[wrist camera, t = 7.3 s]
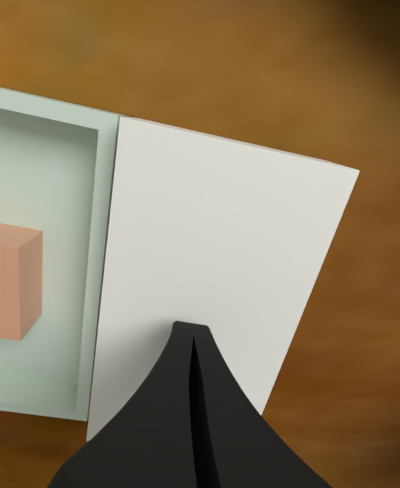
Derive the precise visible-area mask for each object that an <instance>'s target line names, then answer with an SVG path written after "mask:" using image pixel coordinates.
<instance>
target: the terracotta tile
mask: <svg viewBox="0 0 400 488" xmlns="http://www.w3.org/2000/svg"><path fill="white" fill-rule="evenodd" d="M42 259H43V231H42V230H37V229H31V228H25V227H20V226H14V225H8V224H3V223H0V338H3V339H10V340H17V341H21V340H22V339H23V337H24V336H25V335H26V334H27V332H28V331H29V330H30V328H31V327H32V326H33V325H34V323H35V322H36V321H37V320H38V318H39V317H40V316H41V315H42Z"/></svg>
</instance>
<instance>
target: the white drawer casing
mask: <svg viewBox="0 0 400 488" xmlns="http://www.w3.org/2000/svg"><path fill="white" fill-rule="evenodd" d="M359 172H360V171H359V170H356V169H353V168H349V167H346V166H342V165H339V164H335V163H332V162H329V161H325V160H321V159H317V158H312V157H308V156H303V155H299V154H295V153H290V152H286V151H281V150H277V149H272V148H268V147H264V146H259V145H255V144H250V143H246V142H241V141H237V140H233V139H228V138H224V137H219V136H215V135H210V134H206V133H202V132H197V131H193V130H188V129H184V128H180V127H175V126H171V125H166V124H162V123H157V122H153V121H149V120H144V119H140V118H131V117H120V123H119V133H118V142H117V152H116V161H115V171H114V181H113V190H112V200H111V209H110V219H109V229H108V238H107V248H106V257H105V267H104V276H103V286H102V296H101V305H100V315H99V324H98V334H97V344H96V353H95V363H94V372H93V382H92V391H91V401H90V411H89V420H88V430H87V439H86V441H90V440H91V439H92V438H93V437H94V436H95V435H96V434H97V433H98V432H99V431H100V430H101V429H102V428H103V427H104V426H105V425H106V424H107V423H108V422H109V421H110V420H111V419H112V418H113V417H114V416H115V415H116V414H117V413H118V412H119V411H120V409H121V408H122V407H123V406H124V405H125V404H126V403H127V401H128V400H129V399H130V398H131V397H132V395H133V394H134V393H135V392H136V390H137V389H138V388H139V387H140V385H141V384H142V383H143V381H144V380H145V378H146V377H147V376H148V374H149V373H150V371H151V370H152V368H153V366H154V365H155V363H156V362H157V360H158V358H159V357H160V355H161V353H162V351H163V349H164V347H165V345H166V344H167V341H168V339H169V337H170V334H171V331H172V327H173V323H174V322H175V321H182V322H188V323H194V324H201V325H207V326H208V327H209V328H210V331H211V333H212V335H213V338H214V340H215V342H216V344H217V346H218V348H219V350H220V352H221V354H222V356H223V358H224V360H225V362H226V364H227V366H228V367H229V369H230V371H231V373H232V374H233V376H234V378H235V379H236V381H237V382H238V384H239V386H240V387H241V389H242V390H243V392H244V393H245V395H246V396H247V398H248V399H249V400H250V402H251V403H252V405H253V406H254V407H255V409H256V410H257V411H258V413H259V414H260V415H262V412H263V410H264V407H265V405H266V402H267V400H268V398H269V395H270V393H271V390H272V388H273V385H274V383H275V380H276V378H277V375H278V373H279V370H280V368H281V365H282V363H283V360H284V358H285V355H286V353H287V350H288V348H289V345H290V343H291V340H292V338H293V335H294V333H295V331H296V328H297V326H298V323H299V321H300V318H301V316H302V313H303V311H304V308H305V306H306V303H307V301H308V298H309V296H310V293H311V291H312V288H313V286H314V283H315V281H316V278H317V276H318V273H319V271H320V268H321V266H322V263H323V261H324V259H325V256H326V254H327V251H328V249H329V246H330V244H331V241H332V239H333V236H334V234H335V231H336V229H337V226H338V224H339V221H340V219H341V216H342V214H343V211H344V209H345V206H346V204H347V201H348V199H349V196H350V194H351V191H352V189H353V187H354V184H355V182H356V179H357V177H358V174H359Z"/></svg>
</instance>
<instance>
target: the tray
mask: <svg viewBox="0 0 400 488" xmlns="http://www.w3.org/2000/svg"><path fill="white" fill-rule="evenodd" d="M120 117H130V116H126V115H122V114H118V113H113V112H109V111H104V110H100V109H95V108H91V107H87V106H82V105H78V104H73V103H69V102H64V101H60V100H56V99H51V98H47V97H42V96H38V95H33V94H29V93H25V92H20V91H16V90H11V89H7V88H2V87H0V223H3V224H8V225H14V226H20V227H25V228H31V229H37V230H42V231H43V259H42V315H41V316H40V317H39V318H38V320H37V321H36V322H35V323H34V325H33V326H32V327H31V328H30V330H29V331H28V332H27V334H26V335H25V336H24V337H23V339H22V340H21V341H17V340H10V339H3V338H0V410H1V411H9V412H17V413H24V414H32V415H40V416H48V417H56V418H64V419H72V420H80V421H87V420H88V417H89V411H90V401H91V391H92V382H93V372H94V363H95V353H96V344H97V334H98V324H99V315H100V305H101V296H102V286H103V276H104V267H105V257H106V248H107V238H108V229H109V219H110V209H111V200H112V190H113V181H114V171H115V161H116V152H117V142H118V133H119V123H120Z"/></svg>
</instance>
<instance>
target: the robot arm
mask: <svg viewBox="0 0 400 488" xmlns="http://www.w3.org/2000/svg"><path fill="white" fill-rule="evenodd" d="M47 488H332V487H331V486H330V485H329V484H328V483H327V482H326V481H325V480H323V479H322V478H321V477H320V476H319V475H318V474H317V473H315V472H314V471H313V470H312V469H311V468H310V467H309V466H308V465H307V464H306V463H304V462H303V461H302V460H301V459H300V458H299V457H298V456H297V455H296V454H295V453H294V452H293V451H292V450H291V449H290V448H289V447H288V446H287V445H286V443H285V442H284V441H283V440H282V439H281V438H280V437H279V436H278V435H277V434H276V432H275V431H274V430H273V429H272V428H271V427H270V426H269V425H268V423H267V422H266V421H265V420H264V419H263V418H262V416H261V415H260V414H259V413H258V411H257V410H256V409H255V407H254V406H253V405H252V403H251V402H250V400H249V399H248V398H247V396H246V395H245V393H244V392H243V390H242V389H241V387H240V386H239V384H238V382H237V381H236V379H235V378H234V376H233V374H232V373H231V371H230V369H229V367H228V366H227V364H226V362H225V360H224V358H223V356H222V354H221V352H220V350H219V348H218V346H217V344H216V342H215V340H214V338H213V335H212V333H211V331H210V328H209V327H208V326H207V325H201V324H194V323H188V322H182V321H175V322H174V323H173V327H172V331H171V334H170V337H169V339H168V341H167V344H166V345H165V347H164V349H163V351H162V353H161V355H160V357H159V358H158V360H157V362H156V363H155V365H154V366H153V368H152V370H151V371H150V373H149V374H148V376H147V377H146V378H145V380H144V381H143V383H142V384H141V385H140V387H139V388H138V389H137V390H136V392H135V393H134V394H133V395H132V397H131V398H130V399H129V400H128V401H127V403H126V404H125V405H124V406H123V407H122V408H121V409H120V411H119V412H118V413H117V414H116V415H115V416H114V417H113V418H112V419H111V420H110V421H109V422H108V423H107V424H106V425H105V426H104V427H103V428H102V429H101V430H100V431H99V432H98V433H97V434H96V435H95V436H94V437H93V438H92V439H91V440H90V441H88V442H87V443H86V444H85V445H84V446H83V447H82V448H80V449H79V450H78V451H77V452H76V453H75V454H73V455H72V456H71V457H70V458H69V459H68V460H67V461H65V462H64V463H63V464H62V466H61V467H60V469H59V470H58V472H57V473H56V475H55V476H54V478H53V479H52V480H51V482H50V484H49V485H48V487H47Z"/></svg>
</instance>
